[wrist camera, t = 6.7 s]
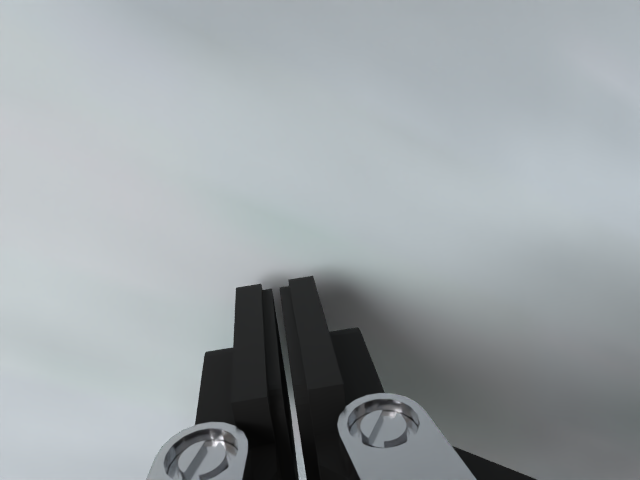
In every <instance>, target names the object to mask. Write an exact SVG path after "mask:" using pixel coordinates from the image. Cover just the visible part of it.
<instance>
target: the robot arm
mask: <svg viewBox="0 0 640 480" xmlns="http://www.w3.org/2000/svg"><path fill="white" fill-rule="evenodd" d="M280 293H281V301H282V308H283V316H284V323H285V331H286V338H287V346H288V353H289V361H290V368H291V376H292V383H293V391H294V398H295V405H296V411H297V418H298V425H299V431H300V438H301V444H302V451H303V458H304V464H305V471H306V478H307V480H536V479H534V478H531V477H529V476H526V475H524V474H521V473H519V472H516V471H514V470H511V469H509V468H506V467H504V466H501V465H499V464H496V463H494V462H491V461H489V460H486V459H484V458H481V457H479V456H476V455H474V454H471V453H469V452H466V451H463V450H461V449H458V448H456V447H453V446H451V444H450V443H449V442H448V440H447V439H446V438H445V436H444V435H443V434H442V432H441V431H440V430H439V428H438V427H437V425H436V424H435V423H434V421H433V420H432V419H431V417H430V416H429V415H428V413H427V412H426V411H425V409H424V408H422V407H421V406H420V405H419V404H418V403H417V402H416V401H414V400H412V399H410V398H408V397H406V396H402V395H398V394H393V393H384V390H383V388H382V385H381V383H380V380H379V378H378V375H377V372H376V370H375V367H374V365H373V362H372V360H371V357H370V355H369V352H368V349H367V347H366V344H365V342H364V339H363V337H362V334H361V332H360V330H359V328H351V329H345V330H339V331H333V332H329V331H328V327H327V324H326V320H325V317H324V313H323V310H322V306H321V303H320V299H319V295H318V292H317V288H316V285H315V281H314V278H313V276H310V277H303V278H297V279H290V280H289V286H288V287H281V288H280ZM146 480H299V478H298V470H297V461H296V453H295V444H294V436H293V427H292V419H291V410H290V403H289V395H288V389H287V382H286V376H285V370H284V363H283V357H282V350H281V344H280V337H279V331H278V324H277V318H276V312H275V305H274V299H273V292H272V289H268V290H262V285H261V284H257V285H251V286H244V287H237V288H236V301H235V323H234V345H233V348H227V349H221V350H215V351H209V352H206V353H205V356H204V363H203V371H202V378H201V385H200V393H199V400H198V408H197V415H196V422H195V426H192V427H189V428H187V429H184V430H182V431H181V432H179V433H178V434H176V435H174V436H173V437H171V438H170V439H169V440H168V441H167V442H166V443H165V444H164V445H163V446H162V447H161V449H160V450H159V452H158V454H157V455H156V457H155V459H154V461H153V464H152V466H151V469H150V471H149V473H148V476H147V478H146Z"/></svg>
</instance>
